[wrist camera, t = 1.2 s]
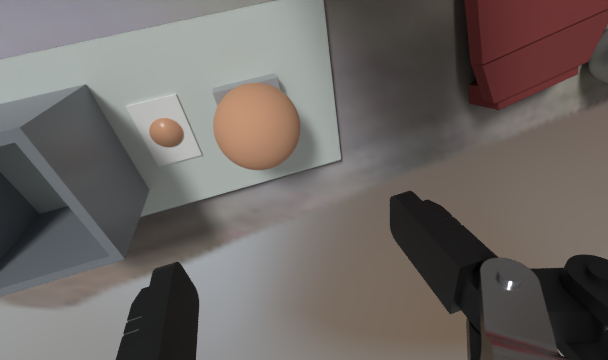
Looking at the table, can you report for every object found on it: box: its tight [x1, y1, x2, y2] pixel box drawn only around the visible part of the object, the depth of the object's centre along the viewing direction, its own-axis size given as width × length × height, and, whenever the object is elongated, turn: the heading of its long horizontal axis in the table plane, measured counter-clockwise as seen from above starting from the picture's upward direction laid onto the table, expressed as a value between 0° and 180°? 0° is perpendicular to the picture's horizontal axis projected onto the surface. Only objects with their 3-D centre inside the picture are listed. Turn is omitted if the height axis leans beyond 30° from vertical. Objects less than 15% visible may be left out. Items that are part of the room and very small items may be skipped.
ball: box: [213, 83, 300, 170], centre depth 20 cm, size 6×6×6 cm
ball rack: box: [0, 0, 341, 297], centre depth 20 cm, size 29×14×9 cm, turn 100°
